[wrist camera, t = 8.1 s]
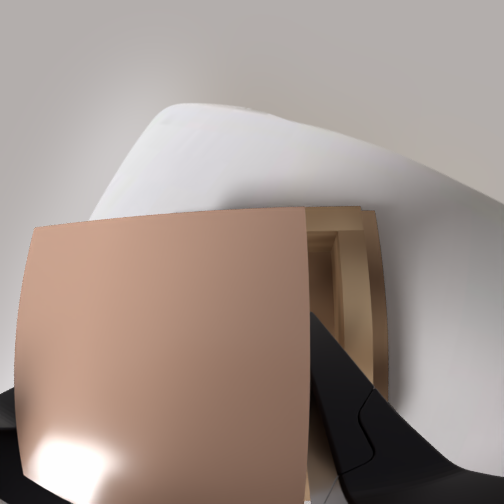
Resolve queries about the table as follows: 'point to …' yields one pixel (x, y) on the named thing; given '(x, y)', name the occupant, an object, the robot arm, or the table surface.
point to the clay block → (167, 358)
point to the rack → (349, 287)
